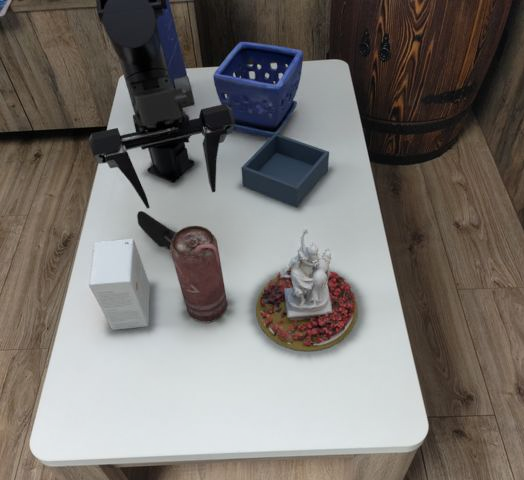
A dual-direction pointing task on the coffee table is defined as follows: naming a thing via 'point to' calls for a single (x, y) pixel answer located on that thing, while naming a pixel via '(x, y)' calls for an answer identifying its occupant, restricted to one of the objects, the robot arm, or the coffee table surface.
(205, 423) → the coffee table surface
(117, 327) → the small box
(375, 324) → the coffee table surface
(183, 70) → the book
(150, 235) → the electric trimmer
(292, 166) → the bin
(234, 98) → the flower pot
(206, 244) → the can
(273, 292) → the figurine
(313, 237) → the coffee table surface
